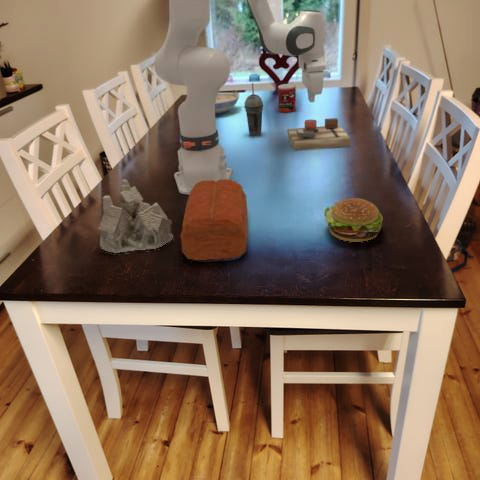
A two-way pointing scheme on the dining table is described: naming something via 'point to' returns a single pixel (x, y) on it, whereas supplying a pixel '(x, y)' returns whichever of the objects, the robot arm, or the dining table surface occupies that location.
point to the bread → (215, 221)
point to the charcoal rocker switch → (305, 133)
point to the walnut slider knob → (331, 123)
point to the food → (354, 220)
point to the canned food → (287, 98)
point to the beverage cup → (254, 113)
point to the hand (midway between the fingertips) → (311, 101)
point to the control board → (319, 138)
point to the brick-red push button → (310, 124)
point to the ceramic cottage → (133, 223)
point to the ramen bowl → (226, 100)
